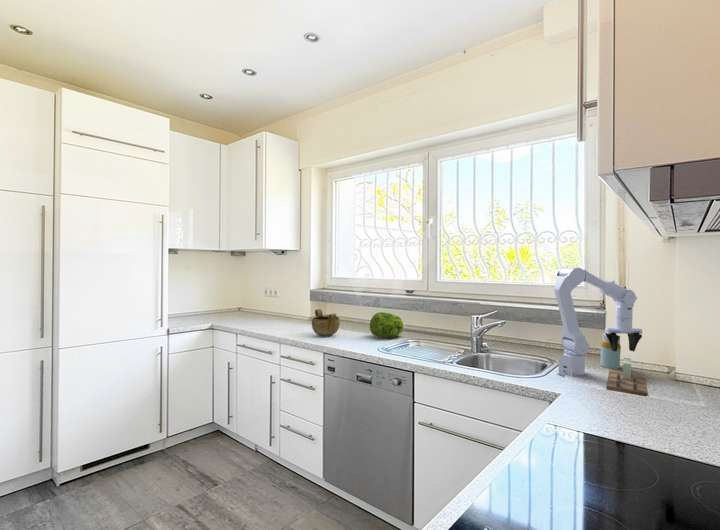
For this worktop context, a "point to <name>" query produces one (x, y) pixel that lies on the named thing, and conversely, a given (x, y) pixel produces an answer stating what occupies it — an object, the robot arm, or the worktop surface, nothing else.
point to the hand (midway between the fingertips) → (623, 350)
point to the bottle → (609, 354)
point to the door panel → (626, 368)
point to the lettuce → (386, 325)
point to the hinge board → (627, 383)
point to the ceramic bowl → (325, 324)
